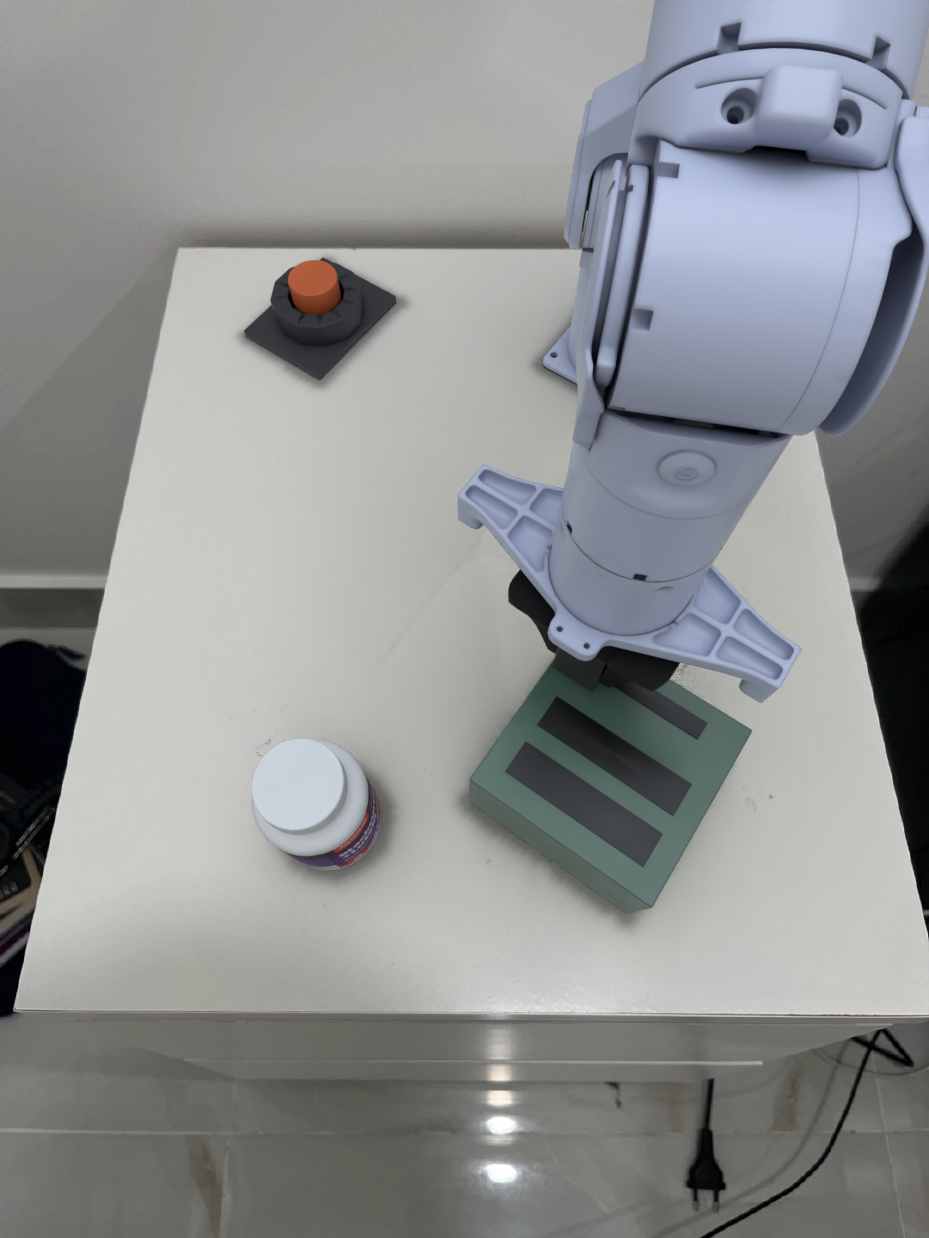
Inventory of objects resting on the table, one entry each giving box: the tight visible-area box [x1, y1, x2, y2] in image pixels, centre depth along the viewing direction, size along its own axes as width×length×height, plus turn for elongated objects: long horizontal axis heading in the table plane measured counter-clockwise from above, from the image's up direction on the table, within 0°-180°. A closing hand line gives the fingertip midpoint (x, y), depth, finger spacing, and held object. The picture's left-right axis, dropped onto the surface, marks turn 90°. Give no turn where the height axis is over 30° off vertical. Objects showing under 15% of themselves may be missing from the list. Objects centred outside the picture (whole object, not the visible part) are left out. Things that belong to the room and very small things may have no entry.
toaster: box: [469, 659, 753, 915], centre depth 39 cm, size 10×10×6 cm
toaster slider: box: [552, 646, 616, 691], centre depth 37 cm, size 3×2×4 cm
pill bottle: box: [251, 737, 382, 871], centre depth 37 cm, size 5×5×10 cm
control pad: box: [243, 257, 397, 381], centre depth 55 cm, size 9×7×2 cm
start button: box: [288, 259, 341, 315], centre depth 53 cm, size 3×3×2 cm
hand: (588, 652), depth 38 cm, fingers closed on toaster slider, 2 cm apart
